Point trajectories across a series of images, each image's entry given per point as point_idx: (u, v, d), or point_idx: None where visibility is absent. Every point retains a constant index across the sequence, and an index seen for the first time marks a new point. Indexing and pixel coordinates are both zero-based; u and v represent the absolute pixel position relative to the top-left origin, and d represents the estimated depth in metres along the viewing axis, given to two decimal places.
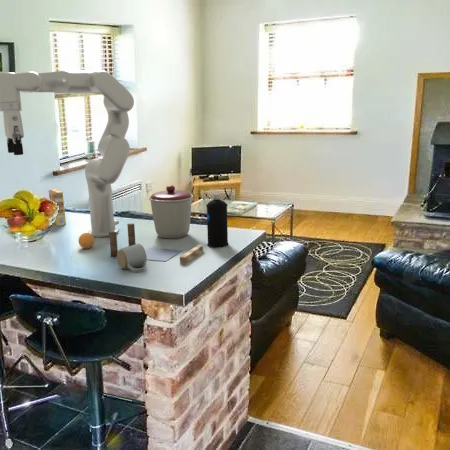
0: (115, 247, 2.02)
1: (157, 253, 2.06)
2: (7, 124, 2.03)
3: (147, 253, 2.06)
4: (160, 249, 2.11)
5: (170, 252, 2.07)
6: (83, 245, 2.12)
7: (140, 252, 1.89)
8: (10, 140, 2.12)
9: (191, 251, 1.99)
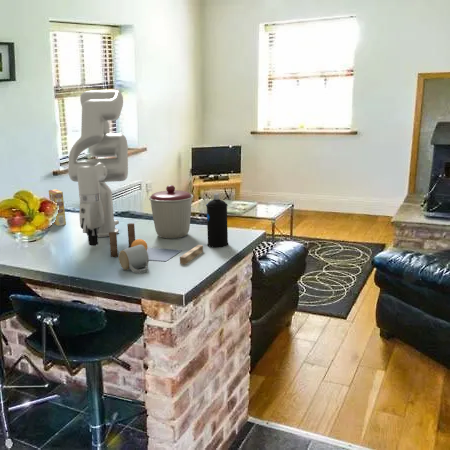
0: (115, 247, 2.02)
1: (157, 253, 2.06)
2: None
3: None
4: (160, 249, 2.11)
5: (170, 252, 2.07)
6: None
7: (142, 253, 1.87)
8: None
9: (191, 251, 1.99)
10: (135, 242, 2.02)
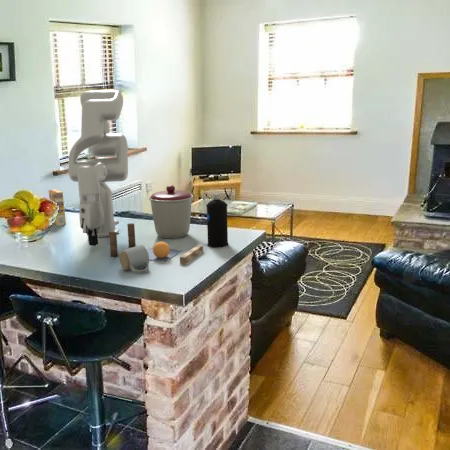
0: (115, 247, 2.02)
1: None
2: None
3: None
4: None
5: (170, 252, 2.07)
6: (160, 250, 1.97)
7: (142, 253, 1.87)
8: None
9: (191, 251, 1.99)
10: (159, 257, 1.99)
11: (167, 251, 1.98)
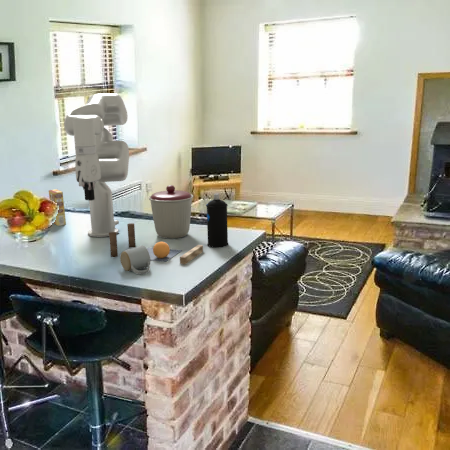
0: (115, 247, 2.02)
1: None
2: None
3: None
4: None
5: (170, 252, 2.07)
6: (160, 250, 1.97)
7: (144, 254, 1.86)
8: None
9: (191, 251, 1.99)
10: (159, 257, 1.99)
11: (167, 251, 1.98)
